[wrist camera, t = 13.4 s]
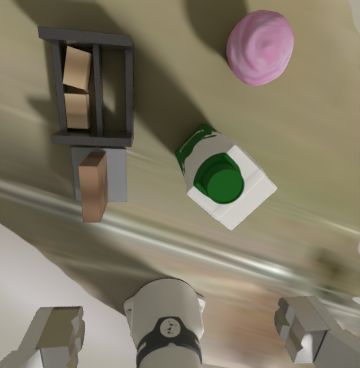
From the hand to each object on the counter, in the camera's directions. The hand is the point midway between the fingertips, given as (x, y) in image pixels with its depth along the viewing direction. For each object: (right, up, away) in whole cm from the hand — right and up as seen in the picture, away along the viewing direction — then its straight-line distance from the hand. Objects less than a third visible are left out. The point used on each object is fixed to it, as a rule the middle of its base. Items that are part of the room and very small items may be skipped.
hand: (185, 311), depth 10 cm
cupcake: (+10, +26, +29) cm, 40 cm away
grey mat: (-14, +7, +34) cm, 37 cm away
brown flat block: (-14, +7, +33) cm, 37 cm away
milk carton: (+4, +11, +34) cm, 36 cm away
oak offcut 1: (-15, +23, +27) cm, 39 cm away
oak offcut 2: (-16, +17, +29) cm, 38 cm away
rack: (-13, +20, +28) cm, 37 cm away
